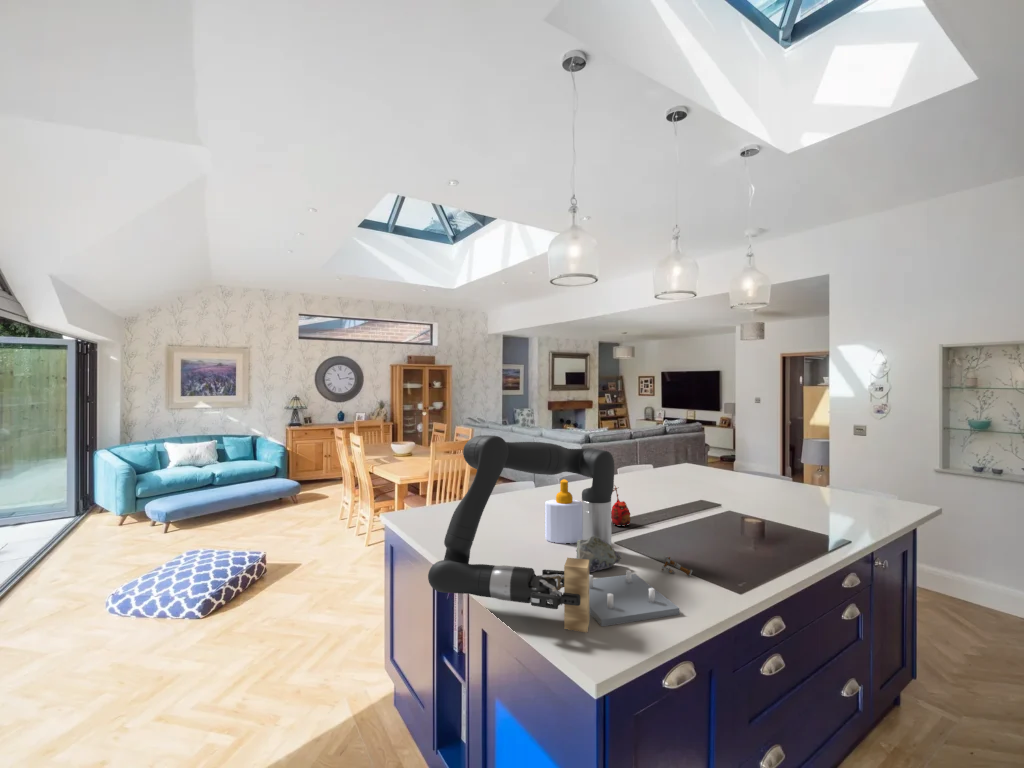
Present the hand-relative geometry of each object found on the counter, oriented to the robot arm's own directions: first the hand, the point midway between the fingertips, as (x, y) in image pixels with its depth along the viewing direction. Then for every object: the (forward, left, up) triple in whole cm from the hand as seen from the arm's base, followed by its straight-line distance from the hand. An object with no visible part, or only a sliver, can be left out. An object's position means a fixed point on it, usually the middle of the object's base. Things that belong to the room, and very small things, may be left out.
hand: (582, 591), depth 102 cm
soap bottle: (-54, +17, -8) cm, 57 cm away
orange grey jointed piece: (-18, +37, -8) cm, 42 cm away
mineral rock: (-27, +17, -8) cm, 33 cm away
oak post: (-1, -1, -8) cm, 8 cm away
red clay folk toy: (-64, +44, -8) cm, 78 cm away
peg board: (-9, +14, -8) cm, 18 cm away
